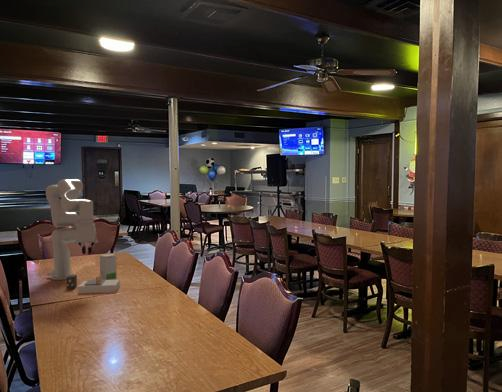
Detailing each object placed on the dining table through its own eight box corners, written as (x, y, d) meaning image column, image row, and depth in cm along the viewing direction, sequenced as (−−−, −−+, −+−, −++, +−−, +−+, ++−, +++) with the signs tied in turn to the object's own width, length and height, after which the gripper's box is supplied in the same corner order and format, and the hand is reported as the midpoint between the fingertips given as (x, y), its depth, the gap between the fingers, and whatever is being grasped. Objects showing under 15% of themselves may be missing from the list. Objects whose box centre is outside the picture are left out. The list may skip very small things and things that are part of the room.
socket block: (78, 293, 214) (78, 286, 214) (84, 287, 226) (84, 280, 225) (115, 292, 217) (115, 285, 217) (119, 286, 229) (119, 279, 228)
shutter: (84, 285, 215) (84, 278, 215) (88, 280, 225) (88, 273, 224) (101, 284, 217) (101, 277, 216) (105, 280, 226) (104, 273, 226)
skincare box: (105, 281, 239) (104, 256, 238) (99, 279, 243) (99, 255, 242) (117, 278, 245) (116, 254, 244) (111, 277, 249) (110, 253, 248)
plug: (66, 289, 221) (65, 277, 221) (69, 286, 227) (69, 275, 227) (73, 289, 221) (73, 277, 221) (76, 286, 228) (76, 274, 227)
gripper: (69, 222, 213) (70, 255, 214) (99, 222, 216) (100, 254, 217) (73, 221, 221) (74, 253, 222) (102, 220, 223) (103, 252, 224)
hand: (86, 253), depth 219 cm, fingers closed
